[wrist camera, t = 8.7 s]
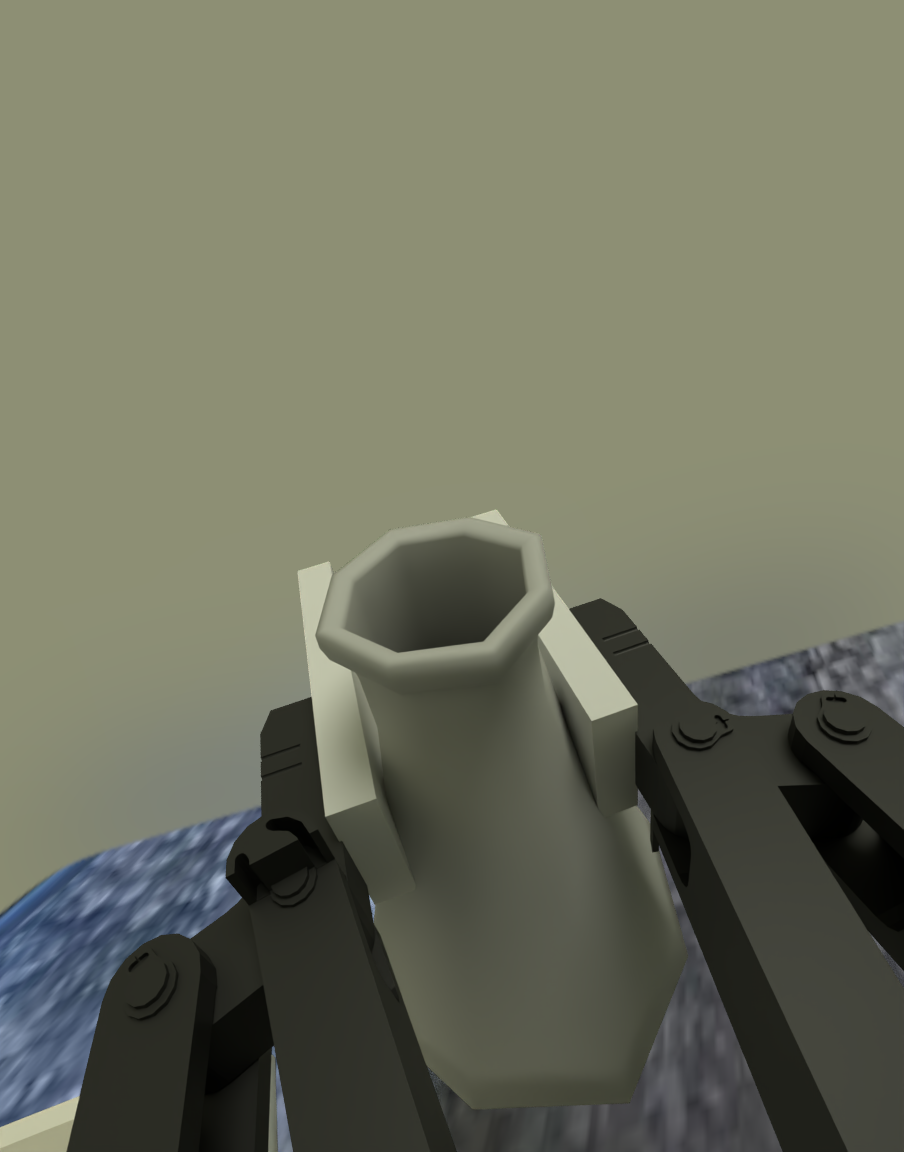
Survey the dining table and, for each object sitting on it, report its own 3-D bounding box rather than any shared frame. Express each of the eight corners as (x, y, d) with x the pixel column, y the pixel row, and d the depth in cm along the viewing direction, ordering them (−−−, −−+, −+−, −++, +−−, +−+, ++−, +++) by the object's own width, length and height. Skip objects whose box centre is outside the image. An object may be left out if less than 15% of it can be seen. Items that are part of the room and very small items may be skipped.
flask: (430, 759, 18) (328, 456, 12) (692, 806, 15) (727, 448, 9) (312, 1047, 13) (25, 763, 7) (679, 1196, 10) (743, 944, 4)
